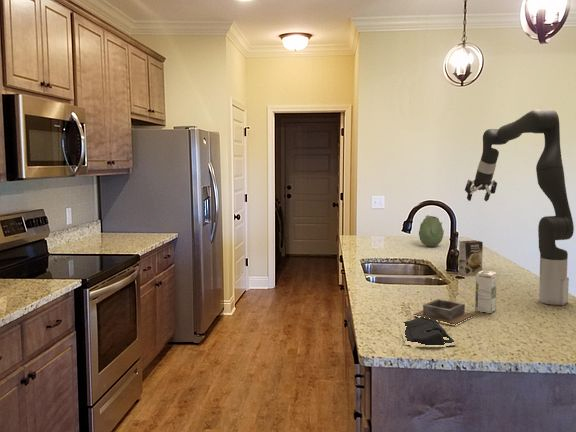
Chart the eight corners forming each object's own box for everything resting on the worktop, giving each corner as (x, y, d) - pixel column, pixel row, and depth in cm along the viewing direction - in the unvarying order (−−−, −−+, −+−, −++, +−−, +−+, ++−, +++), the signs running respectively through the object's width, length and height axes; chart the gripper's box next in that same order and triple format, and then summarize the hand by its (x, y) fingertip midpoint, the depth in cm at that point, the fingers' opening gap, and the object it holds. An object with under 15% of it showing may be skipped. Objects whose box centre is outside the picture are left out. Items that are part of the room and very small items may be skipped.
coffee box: (466, 276, 235) (466, 242, 233) (458, 273, 241) (458, 241, 239) (482, 274, 237) (483, 241, 235) (474, 271, 243) (474, 239, 242)
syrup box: (480, 307, 185) (480, 269, 183) (496, 310, 181) (497, 271, 180) (474, 311, 181) (475, 272, 179) (491, 314, 177) (492, 274, 175)
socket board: (474, 316, 175) (474, 304, 174) (455, 326, 165) (455, 313, 165) (433, 308, 186) (433, 296, 186) (413, 316, 177) (413, 304, 176)
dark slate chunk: (442, 325, 168) (442, 312, 167) (457, 350, 146) (457, 334, 146) (396, 325, 169) (396, 312, 169) (405, 349, 148) (405, 334, 147)
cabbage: (420, 249, 309) (420, 217, 306) (416, 244, 327) (416, 214, 325) (446, 249, 307) (446, 217, 304) (441, 244, 325) (441, 214, 323)
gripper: (474, 173, 228) (466, 203, 236) (503, 173, 229) (494, 204, 237) (468, 166, 234) (460, 196, 242) (496, 167, 236) (487, 197, 244)
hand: (477, 200), depth 240 cm, fingers open, 8 cm apart
